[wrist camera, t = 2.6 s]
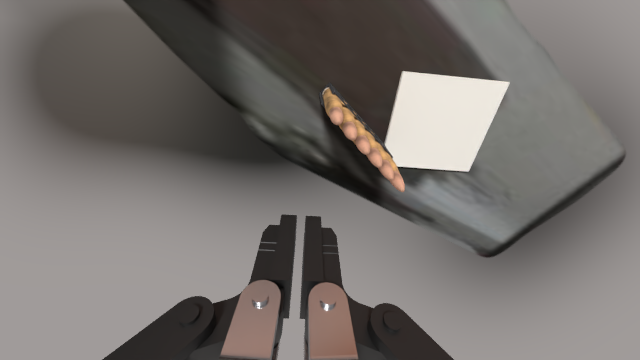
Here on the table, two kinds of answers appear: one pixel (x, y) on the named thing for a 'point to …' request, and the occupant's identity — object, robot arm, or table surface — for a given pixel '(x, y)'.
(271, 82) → the table surface
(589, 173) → the table surface
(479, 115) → the mat
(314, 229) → the robot arm
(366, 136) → the ammunition clip
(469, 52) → the table surface
